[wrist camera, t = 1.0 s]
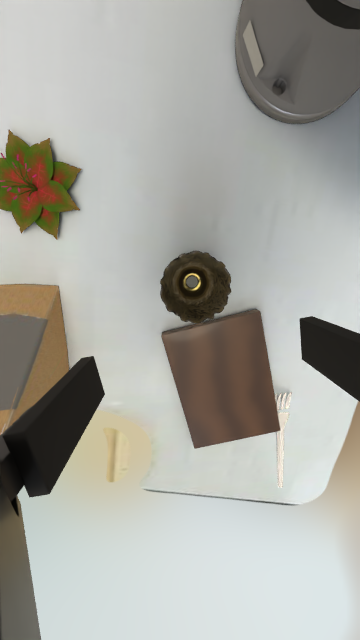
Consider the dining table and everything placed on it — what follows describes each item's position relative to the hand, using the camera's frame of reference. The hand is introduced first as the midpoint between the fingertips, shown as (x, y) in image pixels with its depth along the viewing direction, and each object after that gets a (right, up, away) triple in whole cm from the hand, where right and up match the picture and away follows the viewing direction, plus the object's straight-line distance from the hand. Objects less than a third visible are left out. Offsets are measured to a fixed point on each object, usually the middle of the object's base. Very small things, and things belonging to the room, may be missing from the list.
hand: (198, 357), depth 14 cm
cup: (0, +8, +17) cm, 19 cm away
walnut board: (+5, -7, +20) cm, 22 cm away
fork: (+16, -18, +24) cm, 34 cm away
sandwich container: (-22, 0, +19) cm, 29 cm away
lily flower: (-19, +19, +14) cm, 30 cm away
